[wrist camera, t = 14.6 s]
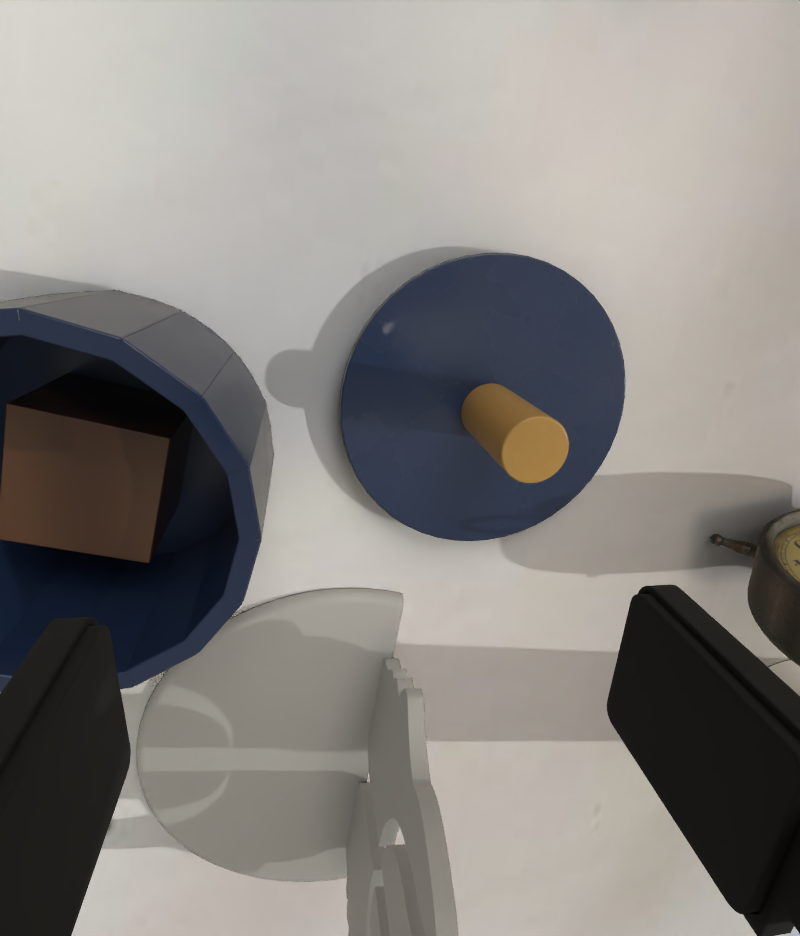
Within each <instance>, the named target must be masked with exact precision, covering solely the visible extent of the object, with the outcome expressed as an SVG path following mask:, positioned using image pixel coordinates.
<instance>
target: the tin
mask: <svg viewBox="0 0 800 936" xmlns="http://www.w3.org/2000/svg"><path fill="white" fill-rule="evenodd" d="M67 373H72V374H77V375H81V376H85V377H89V378H94V379H98V380H102V381H106V382H111V383H115V384H119V385H124V386H128V387H132V388H136V389H141V390H145V391H149V392H153V393H158V394H160V395H162V396H163V397H165V398H166V399H168V400H169V401H170V402H172V403H173V404H175V405H176V406H178V407H179V408H180V409H182V410H183V411H184V412H185V413H186V415H187V416H188V418H189V419H190V421H191V422H192V424H193V426H192V432H191V437H190V443H189V448H188V454H187V459H186V465H185V470H184V476H183V481H182V487H181V492H180V498H179V503H178V507H177V509H176V511H175V513H174V515H173V517H172V519H171V521H170V523H169V525H168V527H167V529H166V531H165V533H164V535H163V537H162V539H161V541H160V543H159V545H158V547H157V549H156V551H155V553H154V555H153V557H152V559H151V561H150V563H144V562H138V561H132V560H125V559H119V558H113V557H107V556H100V555H94V554H88V553H82V552H75V551H69V550H63V549H56V548H50V547H44V546H38V545H31V544H25V543H19V542H13V541H6V540H0V692H2V691H3V689H4V688H5V686H6V685H7V683H8V682H9V680H10V679H11V678H12V676H13V675H14V673H15V672H16V670H17V669H18V667H19V666H20V665H21V663H22V662H23V660H24V659H25V657H26V656H27V655H28V653H29V652H30V650H31V649H32V647H33V646H34V644H35V643H36V642H37V640H38V639H39V637H40V636H41V634H42V633H43V632H44V630H45V629H46V627H47V626H48V624H49V623H50V622H51V621H52V620H54V619H60V618H78V617H94V618H95V619H96V621H97V623H98V625H106V626H108V628H109V631H110V635H111V641H112V647H113V652H114V658H115V663H116V669H117V675H118V680H119V686H120V689H124V688H131V687H134V686H136V685H138V684H140V683H142V682H144V681H146V680H148V679H150V678H152V677H154V676H156V675H158V674H159V673H161V672H163V671H165V670H167V669H169V668H171V667H173V666H175V665H177V664H179V663H181V662H183V661H185V660H187V659H189V658H191V657H193V656H195V655H196V654H197V653H199V652H200V651H201V650H202V649H203V648H204V647H205V646H206V645H207V643H208V642H209V641H210V640H211V639H212V638H213V637H214V635H215V634H216V633H217V632H218V631H219V630H220V629H221V627H222V626H223V625H224V624H225V623H226V622H227V621H228V619H229V618H230V617H231V616H232V615H233V614H234V613H235V612H236V610H237V609H238V608H239V607H240V606H241V605H242V602H243V601H244V598H245V595H246V591H247V588H248V584H249V581H250V578H251V574H252V571H253V567H254V564H255V560H256V557H257V554H258V550H259V547H260V543H261V539H262V532H263V526H264V519H265V512H266V505H267V498H268V492H269V485H270V478H271V471H272V464H273V458H274V457H273V456H274V452H273V445H272V435H271V425H270V420H269V416H268V411H267V405H266V403H265V399H264V398H263V396H262V394H261V391H260V389H259V387H258V385H257V384H256V382H255V380H254V378H253V376H252V374H251V373H250V371H249V370H248V368H247V367H246V366H245V364H244V363H243V361H242V360H241V358H240V357H239V356H238V355H237V354H236V352H234V350H233V349H232V348H231V347H230V346H229V345H228V344H227V343H226V342H225V341H224V340H223V339H221V338H220V337H219V336H218V335H217V334H216V333H215V332H213V331H212V330H211V329H210V328H208V327H207V326H205V325H204V324H202V323H201V322H199V321H198V320H197V319H195V318H194V317H192V316H190V315H188V314H186V313H185V312H182V311H181V310H179V309H176V308H175V307H172V306H169V305H167V304H164V303H162V302H159V301H156V300H154V299H150V298H146V297H142V296H138V295H134V294H129V293H125V292H122V291H119V290H118V291H116V290H105V291H85V292H74V293H59V294H48V295H41V296H34V297H28V298H21V299H14V300H8V301H1V302H0V489H1V475H2V460H3V446H4V432H5V417H6V404H7V403H8V402H10V401H12V400H14V399H16V398H18V397H21V396H23V395H25V394H27V393H29V392H31V391H33V390H35V389H37V388H39V387H41V386H43V385H45V384H47V383H49V382H51V381H53V380H55V379H57V378H59V377H61V376H63V375H65V374H67Z"/></svg>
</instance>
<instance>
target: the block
mask: <svg viewBox="0 0 800 936" xmlns="http://www.w3.org/2000/svg"><path fill="white" fill-rule="evenodd" d="M192 426H193V424H192V422H191V421H190V419H189V418H188V416H187V415H186V413H185V412H184V411H183V410H182V409H180V408H179V407H178V406H176V405H175V404H173V403H172V402H170V401H169V400H168V399H166V398H165V397H163V396H162V395H160V394H158V393H153V392H149V391H145V390H141V389H136V388H132V387H128V386H124V385H119V384H115V383H111V382H106V381H102V380H98V379H94V378H89V377H85V376H81V375H77V374H72V373H67V374H65V375H63V376H61V377H59V378H57V379H55V380H53V381H51V382H49V383H47V384H45V385H43V386H41V387H39V388H37V389H35V390H33V391H31V392H29V393H27V394H25V395H23V396H21V397H18V398H16V399H14V400H12V401H10V402H8V403H7V404H6V417H5V432H4V446H3V460H2V475H1V489H0V540H6V541H13V542H19V543H25V544H31V545H38V546H44V547H50V548H56V549H63V550H69V551H75V552H82V553H88V554H94V555H100V556H107V557H113V558H119V559H125V560H132V561H138V562H144V563H150V561H151V559H152V557H153V555H154V553H155V551H156V549H157V547H158V545H159V543H160V541H161V539H162V537H163V535H164V533H165V531H166V529H167V527H168V525H169V523H170V521H171V519H172V517H173V515H174V513H175V511H176V509H177V507H178V503H179V498H180V492H181V487H182V481H183V476H184V470H185V465H186V459H187V454H188V448H189V443H190V437H191V432H192Z"/></svg>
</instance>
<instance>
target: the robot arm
mask: <svg viewBox="0 0 800 936" xmlns="http://www.w3.org/2000/svg"><path fill="white" fill-rule="evenodd" d="M607 712H608V716H609V719H610V721H611V723H612V725H613V727H614V728H615V730H616V731H617V733H618V734H619V736H620V737H621V739H622V740H623V742H624V744H625V745H626V747H627V748H628V750H629V751H630V753H631V754H632V756H633V757H634V759H635V761H636V762H637V764H638V765H639V767H640V768H641V770H642V771H643V773H644V774H645V776H646V777H647V779H648V781H649V782H650V784H651V785H652V787H653V788H654V790H655V791H656V793H657V794H658V796H659V798H660V799H661V801H662V802H663V804H664V805H665V807H666V808H667V810H668V811H669V813H670V815H671V816H672V818H673V819H674V821H675V822H676V824H677V825H678V827H679V828H680V830H681V831H682V833H683V835H684V836H685V838H686V839H687V841H688V842H689V844H690V845H691V847H692V848H693V850H694V852H695V853H696V855H697V856H698V858H699V859H700V861H701V862H702V864H703V865H704V867H705V869H706V870H707V872H708V873H709V875H710V876H711V878H712V879H713V881H714V882H715V884H716V885H717V887H718V889H719V890H720V892H721V893H722V895H723V896H724V898H725V899H726V901H727V902H728V904H729V905H730V906H731V907H732V908H733V909H734V910H735V911H736V912H738V913H740V914H743V915H744V917H745V918H746V920H747V921H748V923H749V924H750V926H751V927H752V929H753V930H754V932H755V933H756V935H757V936H775V935H780V934H786V933H791V931H792V929H793V927H794V926H795V927H796V929H797V930H798V932H799V933H800V696H799V695H798V694H797V693H796V692H795V691H794V690H793V689H791V688H790V687H789V686H788V685H787V684H786V683H785V682H784V681H783V680H781V679H780V678H779V677H778V676H777V675H776V674H775V673H774V672H773V671H771V670H770V669H769V668H768V667H767V666H766V665H765V664H764V663H763V662H761V661H760V660H759V659H758V658H757V657H756V656H755V655H754V654H753V653H751V652H750V651H749V650H748V649H747V648H746V647H745V646H744V645H742V644H741V643H740V642H739V641H738V640H737V639H736V638H735V637H734V636H732V635H731V634H730V633H729V632H728V631H727V630H726V629H725V628H724V627H722V626H721V625H720V624H719V623H718V622H717V621H716V620H715V619H714V618H712V617H711V616H710V615H709V614H708V613H707V612H706V611H705V610H704V609H702V608H701V607H700V606H699V605H698V604H697V603H696V602H695V601H694V600H692V599H691V598H690V597H689V596H688V595H687V594H686V593H685V592H683V591H682V590H681V589H680V588H679V587H677V586H676V585H656V586H645V587H642V588H641V589H640V591H639V593H638V594H637V595H634V596H633V598H632V600H631V603H630V607H629V611H628V616H627V620H626V624H625V628H624V633H623V637H622V641H621V645H620V650H619V654H618V658H617V662H616V667H615V671H614V675H613V680H612V684H611V688H610V692H609V697H608V701H607ZM130 752H131V750H130V742H129V736H128V731H127V725H126V720H125V714H124V708H123V703H122V697H121V691H120V686H119V680H118V675H117V669H116V663H115V658H114V652H113V647H112V641H111V635H110V631H109V628H108V626H106V625H98V623H97V621H96V619H95V618H94V617H78V618H60V619H54V620H52V621H51V622H50V623H49V624H48V626H47V627H46V629H45V630H44V632H43V633H42V634H41V636H40V637H39V639H38V640H37V642H36V643H35V644H34V646H33V647H32V649H31V650H30V652H29V653H28V655H27V656H26V657H25V659H24V660H23V662H22V663H21V665H20V666H19V667H18V669H17V670H16V672H15V673H14V675H13V676H12V678H11V679H10V680H9V682H8V683H7V685H6V686H5V688H4V689H3V691H2V692H1V693H0V936H71V935H72V932H73V929H74V926H75V923H76V920H77V917H78V914H79V911H80V908H81V906H82V903H83V900H84V897H85V894H86V891H87V888H88V885H89V882H90V879H91V877H92V874H93V871H94V868H95V865H96V862H97V859H98V856H99V853H100V850H101V848H102V845H103V842H104V839H105V836H106V833H107V830H108V827H109V824H110V821H111V819H112V816H113V813H114V810H115V807H116V804H117V801H118V798H119V795H120V793H121V790H122V787H123V784H124V781H125V778H126V775H127V772H128V768H129V763H130Z"/></svg>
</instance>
